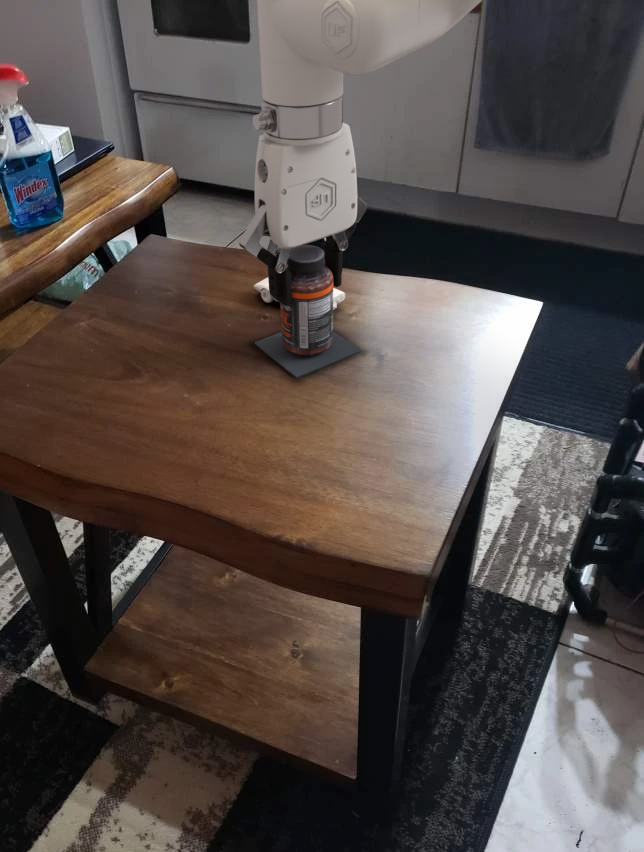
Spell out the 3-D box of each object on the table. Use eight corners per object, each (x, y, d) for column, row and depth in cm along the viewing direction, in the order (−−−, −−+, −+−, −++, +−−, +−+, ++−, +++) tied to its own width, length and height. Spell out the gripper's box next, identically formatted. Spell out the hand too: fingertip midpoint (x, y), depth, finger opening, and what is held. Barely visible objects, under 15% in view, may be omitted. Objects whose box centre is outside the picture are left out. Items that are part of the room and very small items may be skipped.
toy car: (278, 282, 100) (277, 258, 98) (349, 309, 94) (349, 284, 91) (250, 297, 97) (248, 272, 95) (320, 326, 91) (321, 300, 89)
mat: (315, 320, 93) (315, 318, 92) (360, 351, 87) (360, 350, 87) (254, 344, 89) (254, 342, 89) (296, 378, 84) (296, 376, 84)
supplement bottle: (275, 336, 89) (270, 245, 81) (322, 326, 90) (322, 236, 82) (291, 362, 85) (288, 269, 77) (340, 351, 86) (342, 258, 78)
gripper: (245, 148, 65) (258, 330, 78) (399, 105, 71) (388, 280, 84) (204, 127, 70) (222, 302, 82) (352, 88, 76) (348, 256, 88)
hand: (306, 289), depth 83 cm, fingers closed on supplement bottle, 6 cm apart
